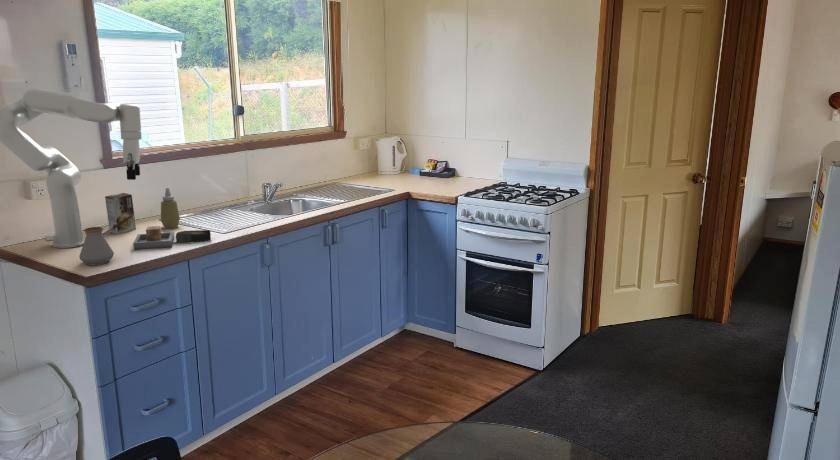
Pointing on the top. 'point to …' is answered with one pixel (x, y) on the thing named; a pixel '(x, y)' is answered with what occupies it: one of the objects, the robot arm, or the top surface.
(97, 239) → the coffee pot
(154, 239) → the walnut block
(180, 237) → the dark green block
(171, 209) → the squeeze bottle
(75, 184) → the robot arm
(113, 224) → the coffee box
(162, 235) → the tray
